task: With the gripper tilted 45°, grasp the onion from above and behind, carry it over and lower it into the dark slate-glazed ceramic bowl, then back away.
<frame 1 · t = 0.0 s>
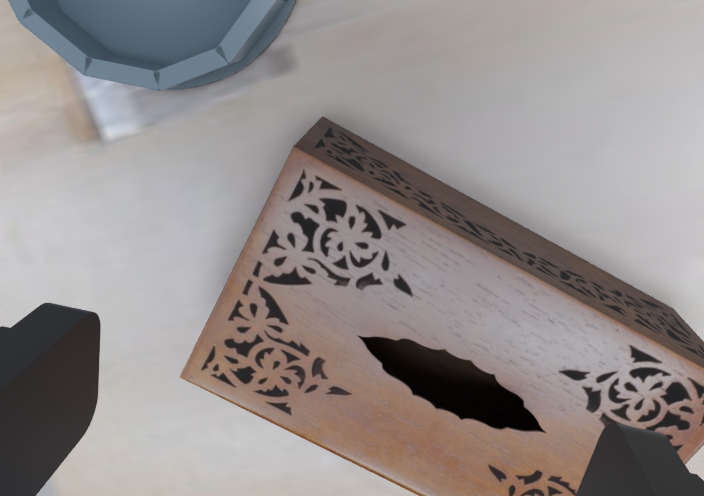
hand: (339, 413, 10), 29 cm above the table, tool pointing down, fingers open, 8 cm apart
tissue box cover: (443, 301, 41), on the table
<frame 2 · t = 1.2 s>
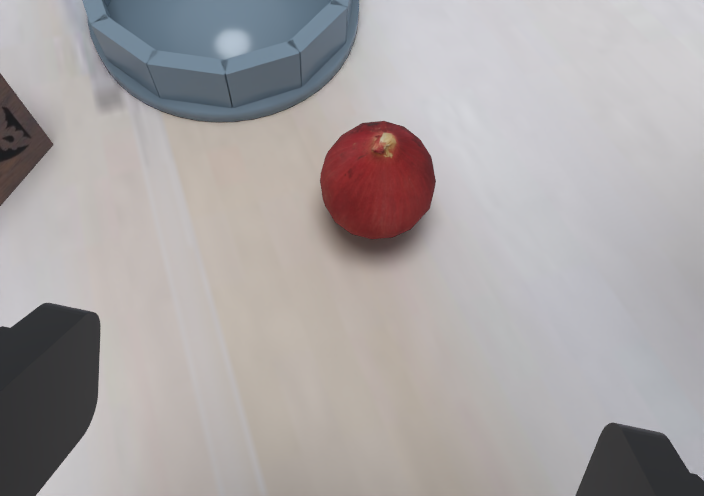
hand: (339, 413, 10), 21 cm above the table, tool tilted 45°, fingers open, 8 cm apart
bowl: (227, 12, 39), on the table
onion: (371, 214, 34), on the table
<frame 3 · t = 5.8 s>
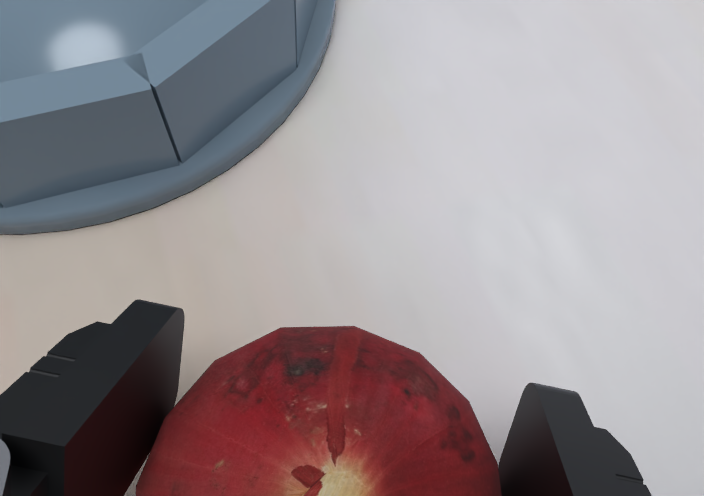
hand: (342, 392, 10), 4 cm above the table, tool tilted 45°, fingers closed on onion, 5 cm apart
when the fingers open (7 cm above the table, at t = 11.4 s): onion drops 1 cm, resting on bowl.
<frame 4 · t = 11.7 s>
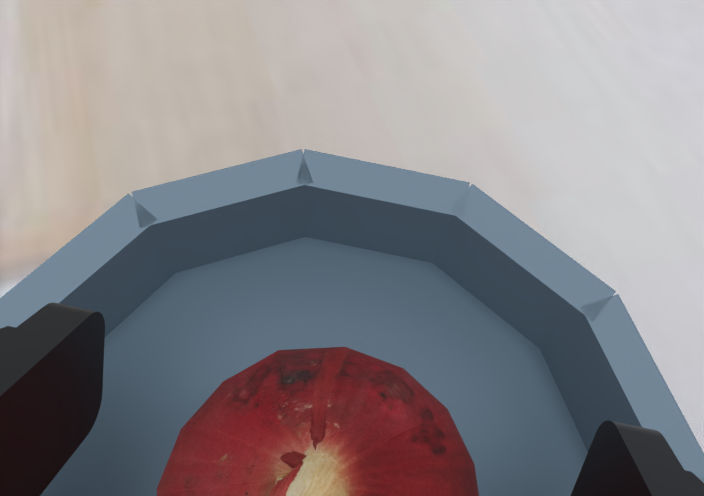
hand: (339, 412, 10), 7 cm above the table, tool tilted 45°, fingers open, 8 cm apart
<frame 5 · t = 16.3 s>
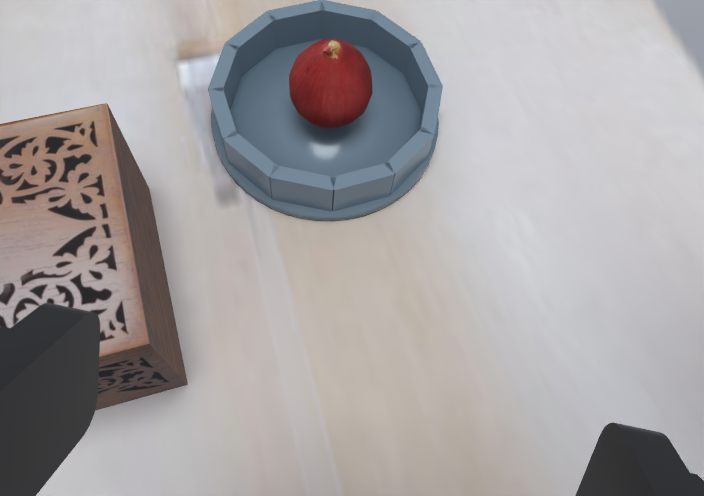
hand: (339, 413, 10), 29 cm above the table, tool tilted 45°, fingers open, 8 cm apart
bowl: (325, 121, 46), on the table
onion: (329, 118, 45), point 1 cm above the table, touching bowl
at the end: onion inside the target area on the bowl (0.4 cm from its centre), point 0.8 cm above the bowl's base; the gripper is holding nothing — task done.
